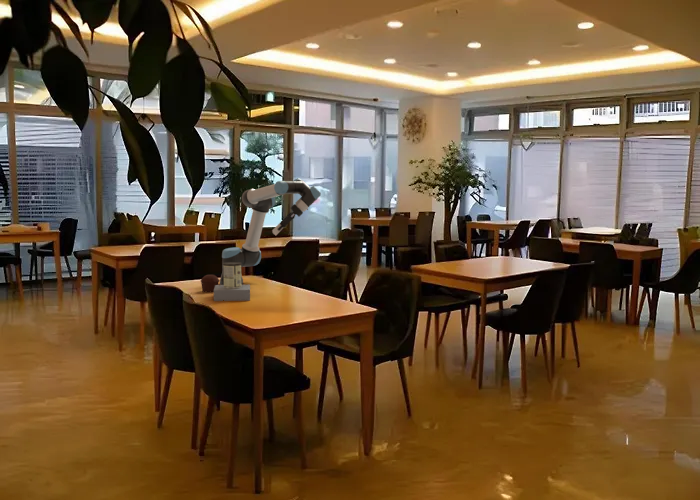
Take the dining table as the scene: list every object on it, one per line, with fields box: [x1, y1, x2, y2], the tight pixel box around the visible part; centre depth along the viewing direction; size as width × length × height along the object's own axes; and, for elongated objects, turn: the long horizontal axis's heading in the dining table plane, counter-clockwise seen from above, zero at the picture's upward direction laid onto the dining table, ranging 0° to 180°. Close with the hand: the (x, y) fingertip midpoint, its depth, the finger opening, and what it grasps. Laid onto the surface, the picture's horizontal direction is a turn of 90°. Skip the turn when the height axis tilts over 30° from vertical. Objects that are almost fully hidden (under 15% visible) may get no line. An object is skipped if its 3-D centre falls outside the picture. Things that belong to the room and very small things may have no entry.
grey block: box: [213, 284, 251, 302], centre depth 381 cm, size 20×20×6 cm
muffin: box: [200, 274, 220, 293], centre depth 404 cm, size 12×11×10 cm
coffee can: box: [223, 262, 242, 289], centre depth 381 cm, size 10×10×14 cm
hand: (273, 233), depth 395 cm, fingers open, 13 cm apart
